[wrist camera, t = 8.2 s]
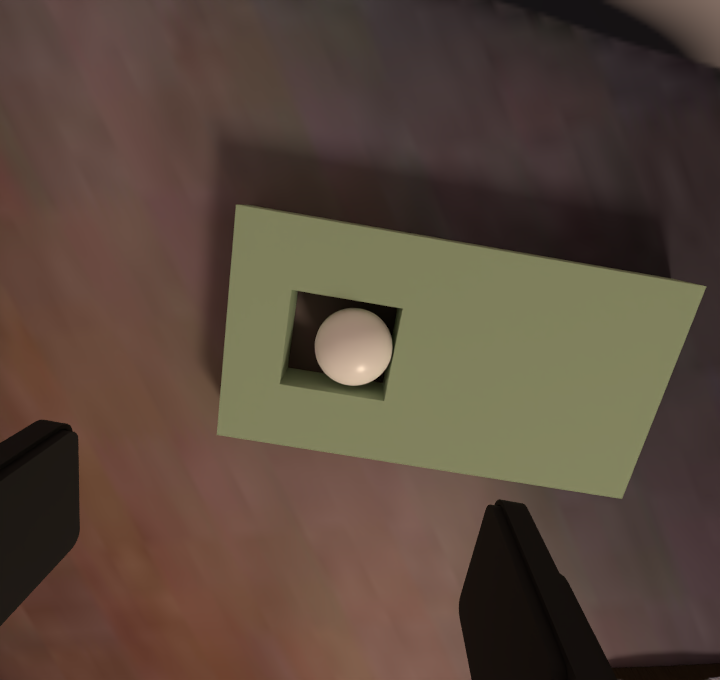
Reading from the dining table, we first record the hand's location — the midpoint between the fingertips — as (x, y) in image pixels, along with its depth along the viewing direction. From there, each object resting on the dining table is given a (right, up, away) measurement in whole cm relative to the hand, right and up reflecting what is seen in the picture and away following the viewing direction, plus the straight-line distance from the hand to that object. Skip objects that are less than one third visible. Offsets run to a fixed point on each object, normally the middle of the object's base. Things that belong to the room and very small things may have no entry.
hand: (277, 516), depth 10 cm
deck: (+6, +3, +15) cm, 16 cm away
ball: (+2, +4, +13) cm, 13 cm away
